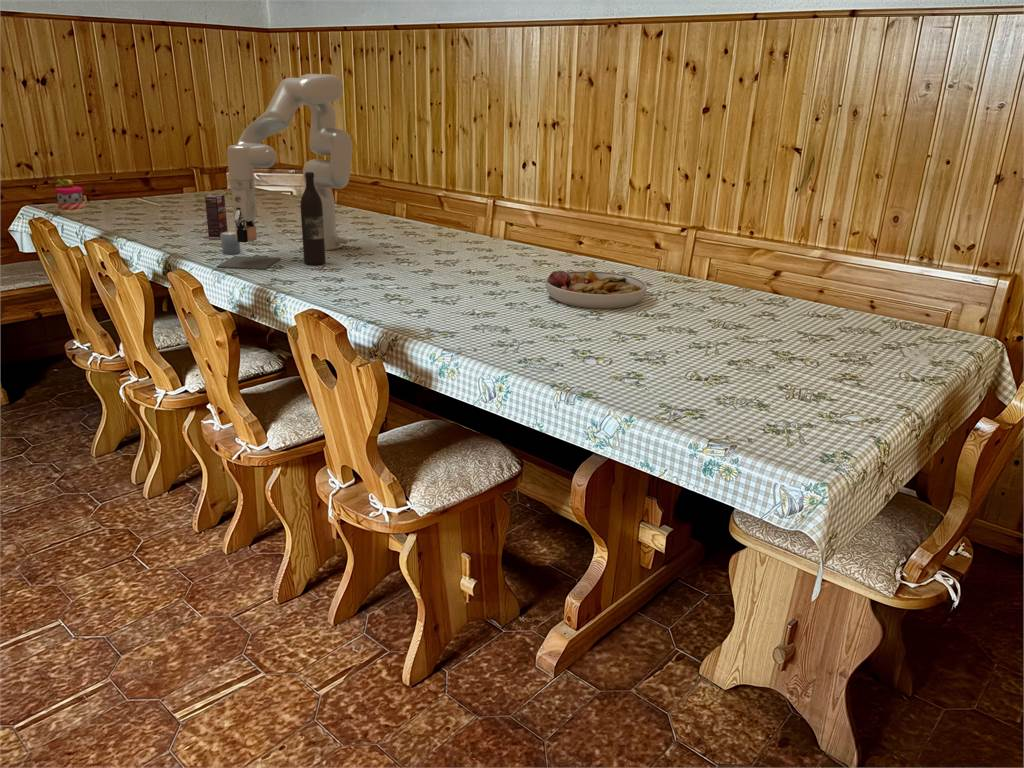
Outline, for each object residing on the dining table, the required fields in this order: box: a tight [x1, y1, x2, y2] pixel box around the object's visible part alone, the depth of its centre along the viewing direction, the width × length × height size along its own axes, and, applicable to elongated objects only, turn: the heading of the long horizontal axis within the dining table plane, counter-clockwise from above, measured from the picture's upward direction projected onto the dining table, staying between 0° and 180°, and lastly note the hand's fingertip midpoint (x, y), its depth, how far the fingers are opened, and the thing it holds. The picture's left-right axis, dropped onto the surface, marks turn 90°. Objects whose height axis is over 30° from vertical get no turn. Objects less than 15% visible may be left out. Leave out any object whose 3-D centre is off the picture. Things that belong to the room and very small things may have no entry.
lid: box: [234, 226, 258, 242], centre depth 260 cm, size 7×7×4 cm
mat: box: [216, 255, 282, 271], centre depth 264 cm, size 16×16×1 cm
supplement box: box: [204, 193, 229, 240], centre depth 302 cm, size 9×5×16 cm, turn 179°
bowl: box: [544, 269, 648, 310], centre depth 234 cm, size 30×30×8 cm
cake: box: [54, 178, 86, 216], centre depth 343 cm, size 10×11×15 cm
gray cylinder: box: [220, 231, 241, 255], centre depth 278 cm, size 6×6×7 cm
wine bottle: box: [300, 172, 326, 266], centre depth 262 cm, size 7×7×30 cm
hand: (246, 239), depth 261 cm, fingers closed on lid, 6 cm apart
